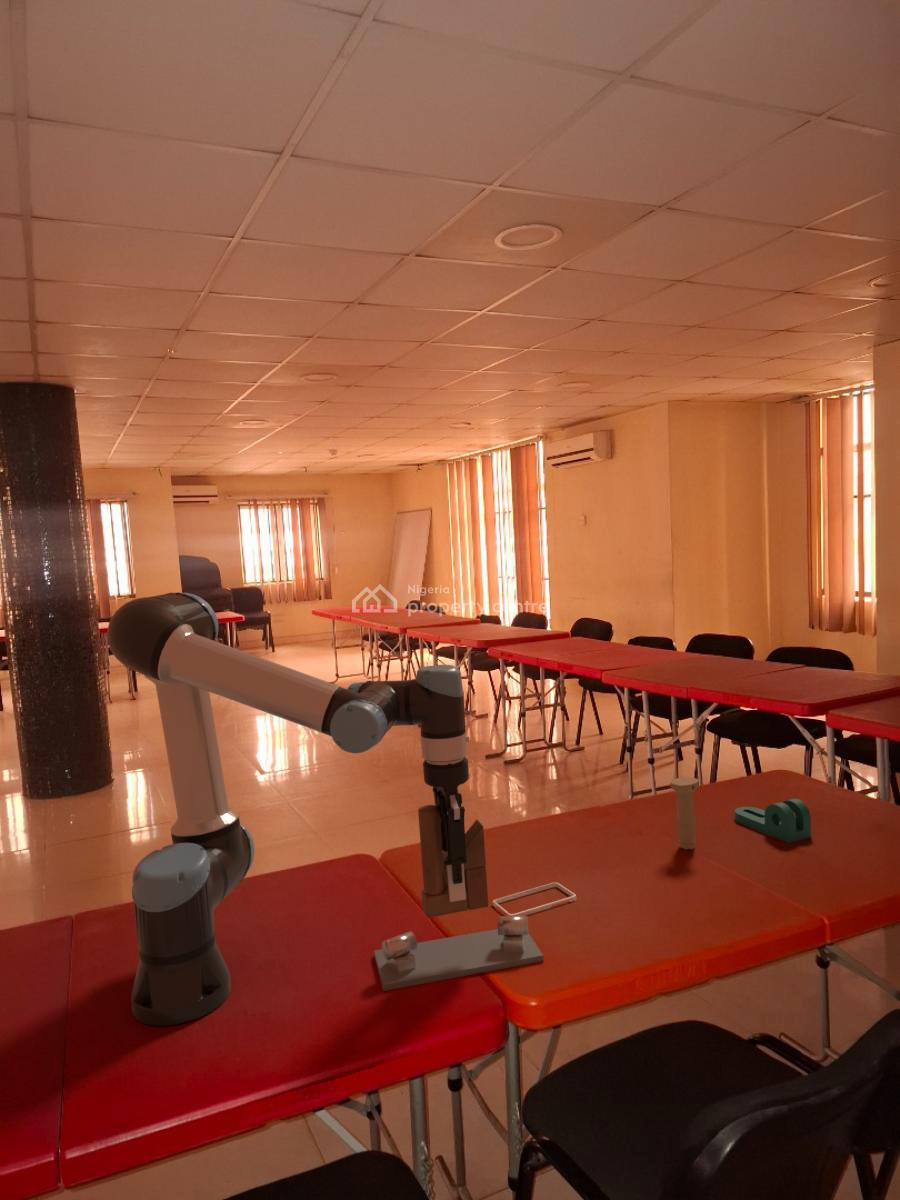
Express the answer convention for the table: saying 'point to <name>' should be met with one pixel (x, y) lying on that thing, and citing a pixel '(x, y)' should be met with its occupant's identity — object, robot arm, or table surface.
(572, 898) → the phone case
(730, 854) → the table surface
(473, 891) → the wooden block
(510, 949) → the grey knob
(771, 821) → the bracket
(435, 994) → the table surface
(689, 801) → the handle
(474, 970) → the plate
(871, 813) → the table surface
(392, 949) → the grey block
